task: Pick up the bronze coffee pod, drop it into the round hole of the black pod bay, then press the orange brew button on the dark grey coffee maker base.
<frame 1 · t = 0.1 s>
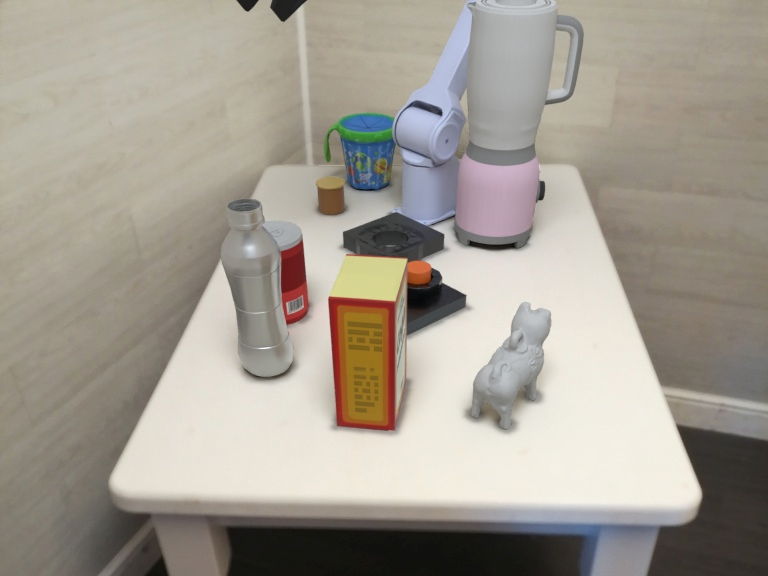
hand: (258, 9, 85), 32 cm above the table, tool tilted 50°, fingers open, 7 cm apart
canned food: (281, 313, 98), on the table
plastic bottle: (268, 369, 89), on the table
blender: (502, 236, 115), on the table
coffee pod: (331, 209, 122), on the table
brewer: (411, 307, 99), on the table
brew button: (417, 272, 97), point 4 cm above the table, slide at 0.1 cm
snack cup: (369, 184, 130), on the table
pod bay: (393, 248, 111), on the table
baking soda box: (372, 404, 84), on the table
dog figurine: (506, 401, 84), on the table
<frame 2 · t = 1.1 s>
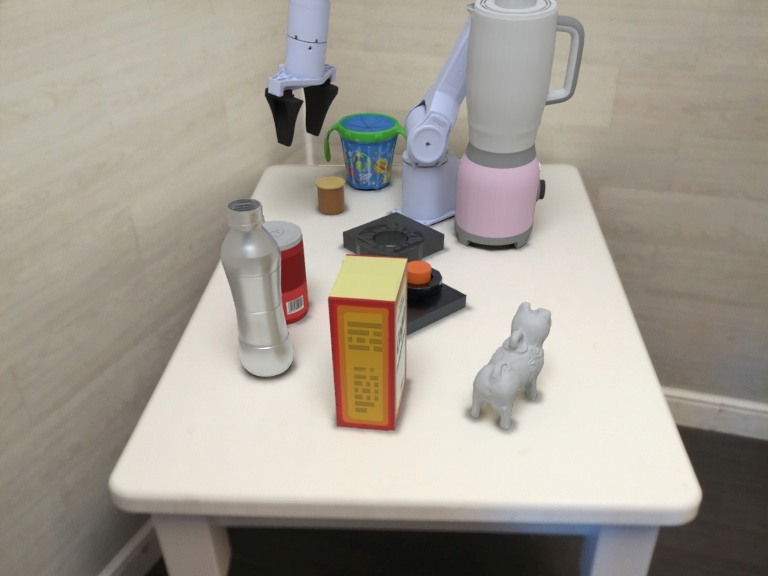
hand: (298, 139, 111), 12 cm above the table, tool pointing down, fingers open, 7 cm apart
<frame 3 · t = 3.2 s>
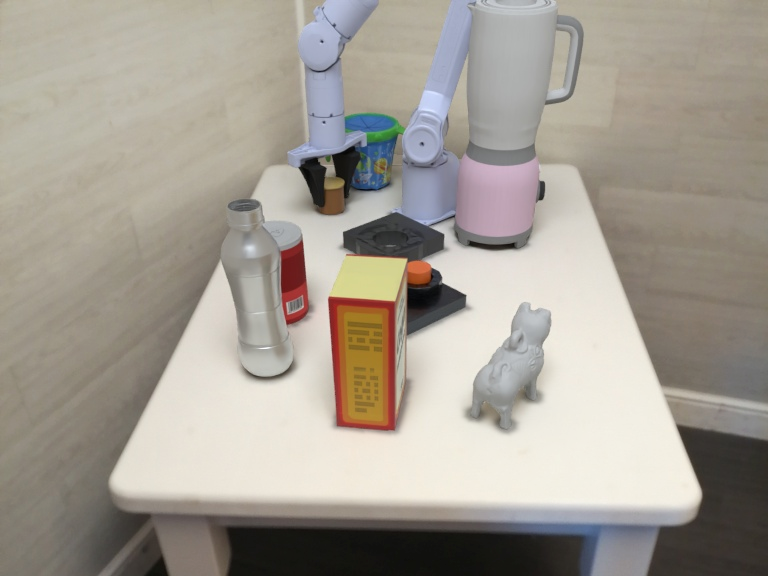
hand: (331, 200, 121), 1 cm above the table, tool pointing down, fingers closed on coffee pod, 4 cm apart
coffee pod: (331, 209, 122), on the table, touching gripper
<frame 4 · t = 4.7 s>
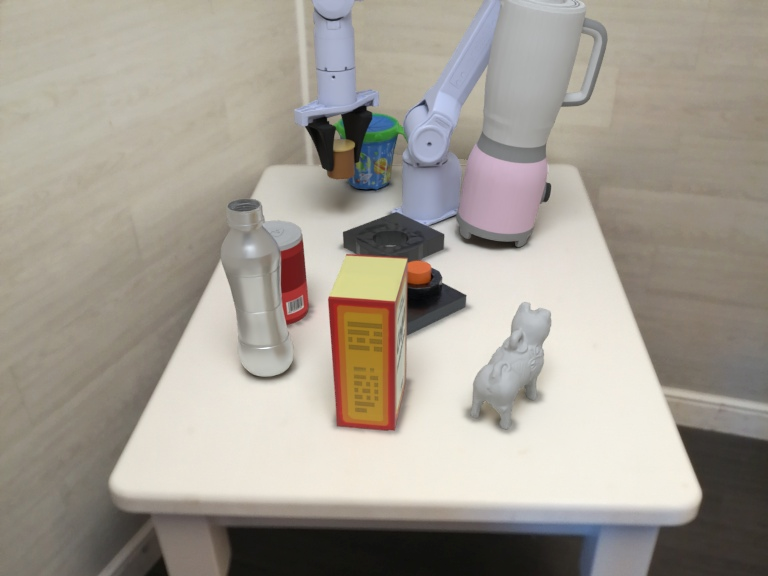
hand: (340, 165, 114), 8 cm above the table, tool pointing down, fingers closed on coffee pod, 4 cm apart
coffee pod: (341, 174, 115), point 7 cm above the table, touching gripper
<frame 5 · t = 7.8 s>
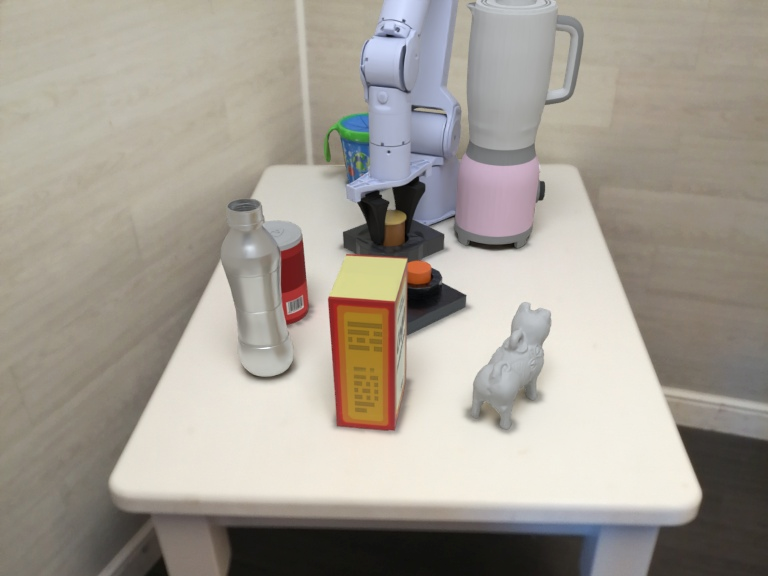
hand: (390, 236, 108), 3 cm above the table, tool pointing down, fingers closed on coffee pod, 4 cm apart
coffee pod: (390, 245, 109), point 1 cm above the table, touching gripper
when the fingers open (5 cm above the table, at t = 20.7 s): coffee pod drops 3 cm, resting in pod bay.
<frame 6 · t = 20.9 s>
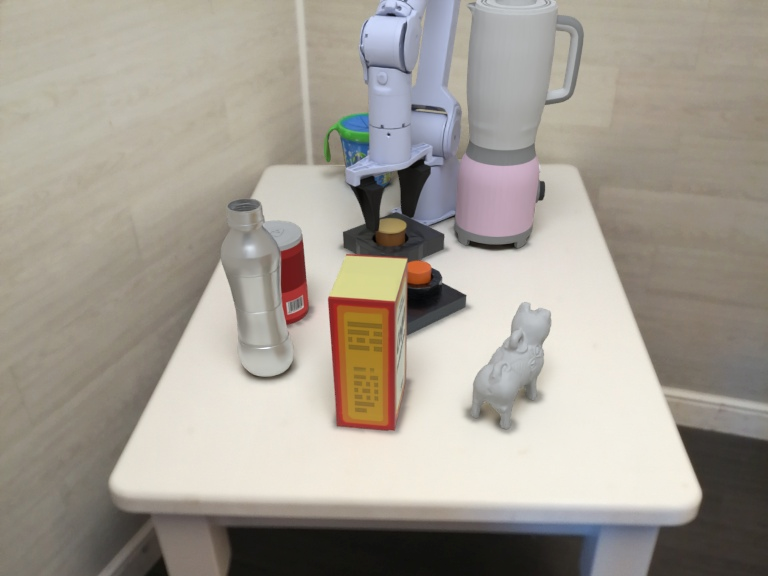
hand: (390, 222, 107), 5 cm above the table, tool pointing down, fingers open, 6 cm apart
coffee pod: (390, 253, 110), resting in pod bay
everything else where it was.
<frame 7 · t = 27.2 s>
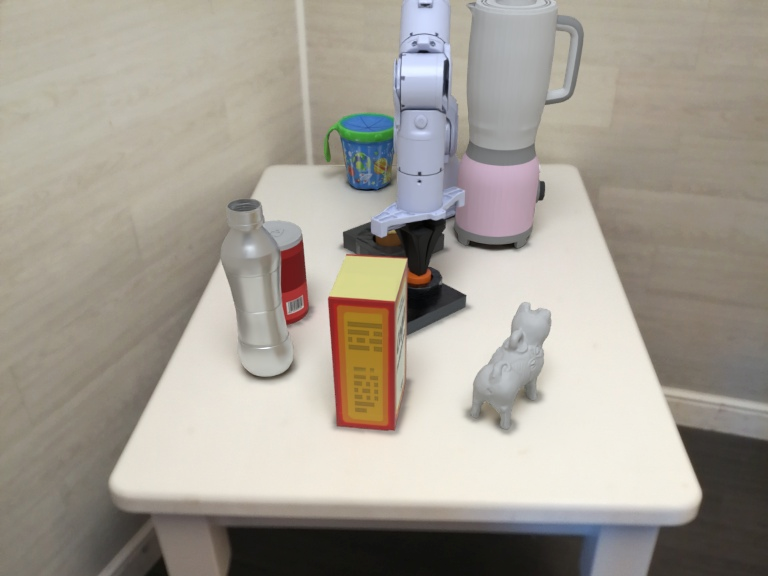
hand: (417, 272, 97), 4 cm above the table, tool pointing down, fingers closed, pressing on brew button
brew button: (417, 278, 98), point 3 cm above the table, slide at -0.6 cm, touching gripper
everything else where it was.
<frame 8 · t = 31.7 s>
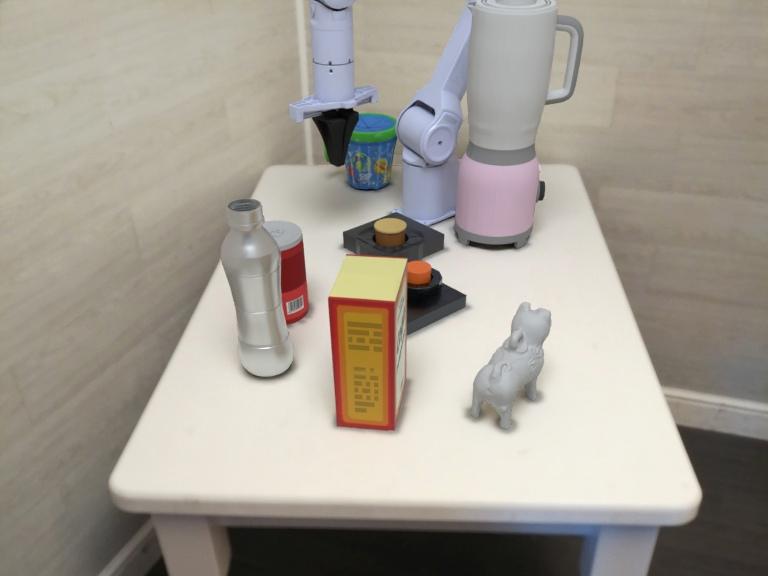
hand: (337, 164, 108), 10 cm above the table, tool pointing down, fingers closed
brew button: (417, 272, 97), point 4 cm above the table, slide at 0.1 cm
everything else where it was.
at the end: coffee pod 0.0 cm from the target spot in the pod bay, point 0.0 cm above the pod bay's base; brew button pushed in 1.0 cm at the most during the clip, back to where it started at the end; brew button slide at 0.1 cm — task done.
